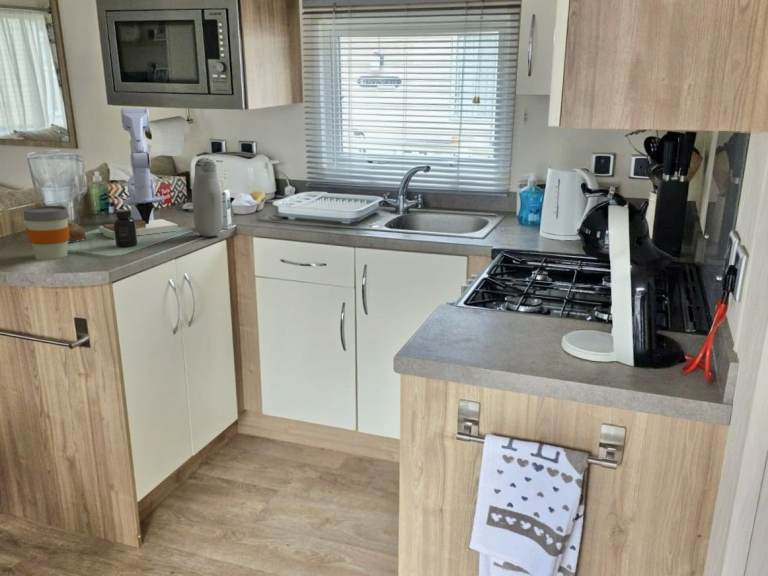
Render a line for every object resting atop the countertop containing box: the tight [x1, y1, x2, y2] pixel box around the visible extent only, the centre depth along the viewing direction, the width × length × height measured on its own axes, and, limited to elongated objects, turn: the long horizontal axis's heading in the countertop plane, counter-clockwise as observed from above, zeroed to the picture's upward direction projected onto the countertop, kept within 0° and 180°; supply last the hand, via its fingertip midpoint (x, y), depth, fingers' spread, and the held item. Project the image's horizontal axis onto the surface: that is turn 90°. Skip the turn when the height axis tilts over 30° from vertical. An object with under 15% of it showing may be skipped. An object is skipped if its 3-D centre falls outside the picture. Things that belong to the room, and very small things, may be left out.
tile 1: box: [102, 223, 114, 231], centre depth 245 cm, size 4×4×2 cm
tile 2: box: [135, 219, 146, 229], centre depth 243 cm, size 4×4×2 cm
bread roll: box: [68, 222, 87, 242], centre depth 233 cm, size 10×10×8 cm
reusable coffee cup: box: [23, 205, 70, 261], centre depth 208 cm, size 13×13×15 cm
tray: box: [98, 225, 139, 239], centre depth 243 cm, size 14×9×2 cm, turn 41°
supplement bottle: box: [113, 209, 138, 248], centre depth 225 cm, size 7×7×12 cm
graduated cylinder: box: [221, 188, 233, 230], centre depth 255 cm, size 6×6×14 cm
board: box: [138, 218, 179, 236], centre depth 251 cm, size 14×15×2 cm
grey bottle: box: [191, 157, 223, 238], centre depth 239 cm, size 10×10×28 cm
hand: (146, 223), depth 245 cm, fingers closed
